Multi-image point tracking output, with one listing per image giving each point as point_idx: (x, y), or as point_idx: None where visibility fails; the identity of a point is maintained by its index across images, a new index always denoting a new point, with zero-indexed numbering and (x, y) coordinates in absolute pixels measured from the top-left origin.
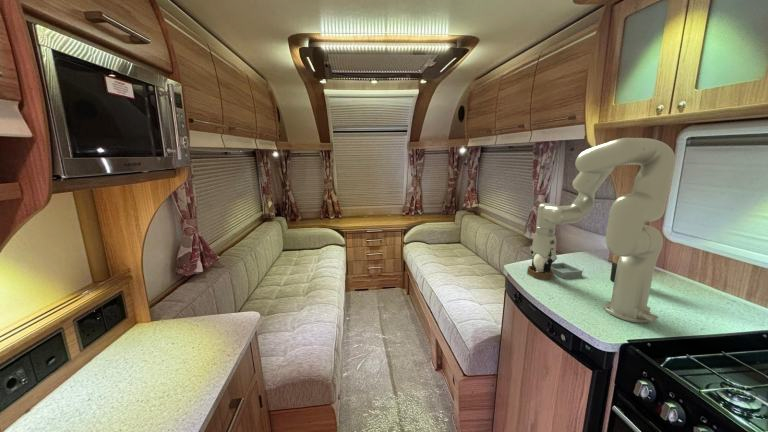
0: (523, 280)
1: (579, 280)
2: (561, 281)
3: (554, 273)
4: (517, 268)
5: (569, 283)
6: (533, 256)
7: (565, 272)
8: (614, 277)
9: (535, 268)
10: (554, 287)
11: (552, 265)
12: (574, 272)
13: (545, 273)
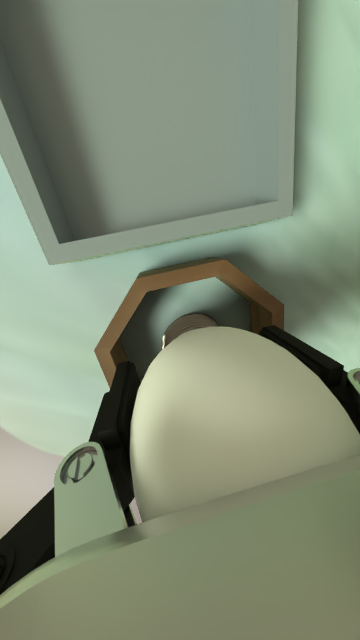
0: None
1: (326, 71)
2: (303, 258)
3: (196, 236)
4: (88, 428)
5: (341, 221)
6: (130, 510)
7: (292, 166)
8: None
9: (118, 352)
10: (349, 343)
11: (27, 144)
12: (288, 2)
13: (208, 319)
